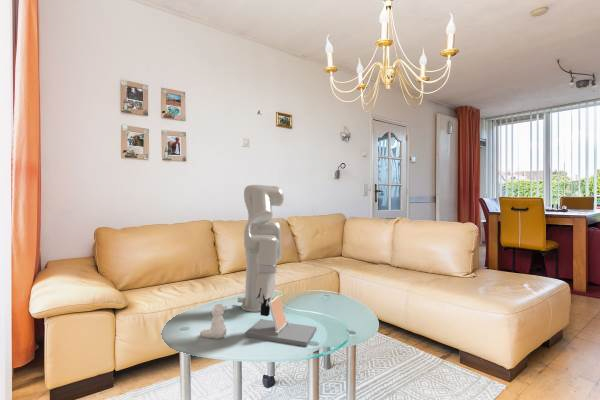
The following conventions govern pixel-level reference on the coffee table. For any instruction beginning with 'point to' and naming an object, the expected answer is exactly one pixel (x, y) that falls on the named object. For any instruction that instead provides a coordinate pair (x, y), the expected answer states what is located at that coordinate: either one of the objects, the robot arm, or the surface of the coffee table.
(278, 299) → the tile
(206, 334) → the sitting furry creature
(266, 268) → the robot arm
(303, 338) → the board
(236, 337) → the coffee table surface
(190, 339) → the coffee table surface
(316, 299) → the coffee table surface
